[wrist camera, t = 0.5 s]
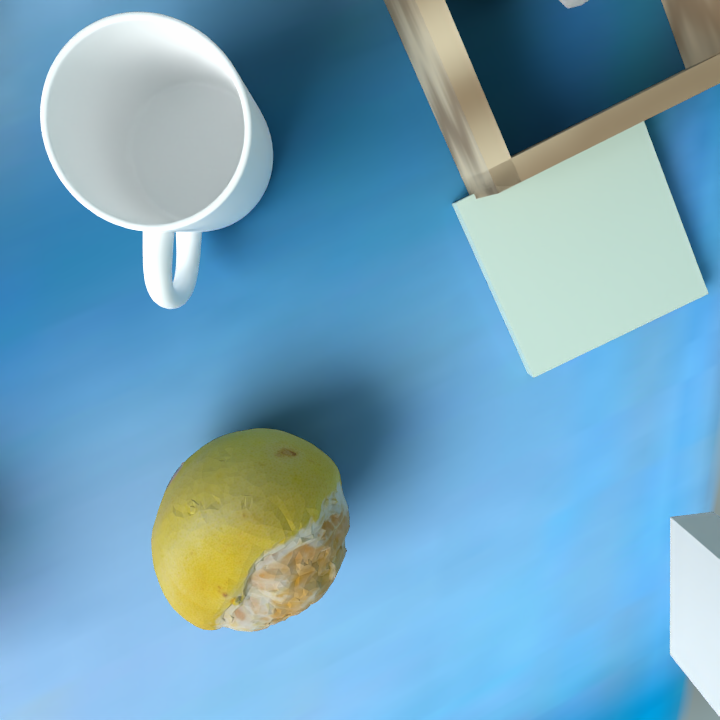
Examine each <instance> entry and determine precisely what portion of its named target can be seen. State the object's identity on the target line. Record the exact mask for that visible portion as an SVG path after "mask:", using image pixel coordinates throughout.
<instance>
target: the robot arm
mask: <svg viewBox="0 0 720 720" xmlns="http://www.w3.org/2000/svg"><path fill="white" fill-rule="evenodd" d="M670 655H671V656H672V657H673V659H674V660H675V661H676V662H677V664H678V665H679V666H680V667H681V669H682V670H683V671H684V673H685V674H686V675H687V676H688V678H689V679H690V680H691V681H692V683H693V684H694V685H695V686H696V688H697V689H698V690H699V691H700V693H701V694H702V695H703V696H704V698H705V699H706V700H707V702H708V703H709V704H710V705H711V707H712V708H713V709H714V710H715V711H716V713H717V714H718V715H719V717H720V517H719V516H718V515H717V514H715V513H714V512H708V513H700V514H691V515H683V516H675V517H670Z"/></svg>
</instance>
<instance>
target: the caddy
mask: <svg viewBox="0 0 720 720" xmlns="http://www.w3.org/2000/svg"><path fill="white" fill-rule="evenodd" d="M661 1H662V4H663V6H664V9H665V12H666V15H667V18H668V20H669V23H670V26H671V29H672V32H673V35H674V37H675V40H676V43H677V46H678V49H679V51H680V54H681V57H682V60H683V63H684V66H685V68H686V69H684V70H682V71H680V72H678V73H676V74H674V75H672V76H670V77H668V78H666V79H664V80H662V81H660V82H658V83H656V84H654V85H652V86H650V87H648V88H646V89H644V90H642V91H640V92H638V93H636V94H634V95H632V96H630V97H628V98H626V99H624V100H622V101H620V102H618V103H616V104H614V105H612V106H610V107H608V108H606V109H604V110H602V111H600V112H598V113H596V114H594V115H592V116H590V117H588V118H586V119H584V120H582V121H580V122H578V123H576V124H574V125H572V126H570V127H568V128H566V129H564V130H562V131H560V132H558V133H556V134H554V135H552V136H550V137H548V138H546V139H544V140H542V141H540V142H538V143H536V144H534V145H533V146H531V147H529V148H527V149H525V150H523V151H521V152H519V153H517V154H515V155H513V156H510V154H509V151H508V149H507V147H506V144H505V142H504V139H503V137H502V135H501V132H500V130H499V128H498V125H497V123H496V120H495V118H494V116H493V113H492V111H491V109H490V106H489V104H488V101H487V99H486V97H485V94H484V92H483V90H482V87H481V85H480V82H479V80H478V78H477V75H476V73H475V71H474V68H473V66H472V63H471V61H470V59H469V56H468V54H467V52H466V49H465V47H464V44H463V42H462V40H461V37H460V35H459V33H458V30H457V28H456V25H455V23H454V21H453V18H452V16H451V14H450V11H449V9H448V6H447V4H446V2H445V0H384V2H385V4H386V6H387V9H388V11H389V13H390V15H391V18H392V20H393V22H394V24H395V27H396V29H397V31H398V34H399V36H400V38H401V40H402V43H403V45H404V47H405V49H406V52H407V54H408V56H409V59H410V61H411V63H412V65H413V68H414V70H415V72H416V75H417V77H418V79H419V81H420V84H421V86H422V88H423V90H424V93H425V95H426V97H427V100H428V102H429V104H430V106H431V109H432V111H433V113H434V115H435V118H436V120H437V122H438V125H439V127H440V129H441V131H442V134H443V136H444V138H445V140H446V143H447V145H448V147H449V150H450V152H451V154H452V156H453V159H454V161H455V163H456V166H457V168H458V170H459V172H460V175H461V177H462V179H463V181H464V184H465V186H466V188H467V191H468V193H469V195H472V194H474V195H475V197H476V199H478V198H482V197H486V196H490V195H494V194H498V193H500V192H502V191H504V190H506V189H508V188H510V187H512V186H514V185H516V184H518V183H520V182H522V181H524V180H526V179H528V178H530V177H532V176H534V175H536V174H538V173H540V172H542V171H544V170H546V169H548V168H550V167H552V166H554V165H556V164H558V163H560V162H562V161H564V160H566V159H568V158H570V157H572V156H574V155H576V154H579V153H581V152H583V151H585V150H587V149H589V148H591V147H593V146H595V145H597V144H599V143H601V142H603V141H605V140H607V139H609V138H611V137H613V136H615V135H617V134H619V133H621V132H623V131H625V130H627V129H629V128H631V127H633V126H635V125H637V124H639V123H641V122H643V121H645V120H647V119H649V118H651V117H653V116H655V115H657V114H659V113H661V112H663V111H665V110H667V109H669V108H671V107H673V106H675V105H677V104H679V103H681V102H683V101H685V100H687V99H689V98H691V97H693V96H695V95H697V94H699V93H701V92H703V91H705V90H707V89H709V88H711V87H713V86H715V85H717V84H719V83H720V0H661Z"/></svg>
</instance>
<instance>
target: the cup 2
mask: <svg viewBox="0 0 720 720" xmlns="http://www.w3.org/2000/svg"><path fill="white" fill-rule="evenodd" d="M559 1H560V2H561V3H562V4H563V5H564V6H565V7H567V8H572V7H576V6H580V5H582V4H584V3H585V2H587V1H588V0H559Z"/></svg>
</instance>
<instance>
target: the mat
mask: <svg viewBox="0 0 720 720" xmlns="http://www.w3.org/2000/svg"><path fill="white" fill-rule="evenodd" d="M452 205H453V207H454V210H455V212H456V214H457V216H458V219H459V221H460V223H461V225H462V228H463V230H464V232H465V234H466V236H467V239H468V241H469V243H470V245H471V248H472V250H473V252H474V254H475V257H476V259H477V261H478V263H479V266H480V268H481V270H482V272H483V275H484V277H485V279H486V281H487V284H488V286H489V288H490V290H491V292H492V295H493V297H494V299H495V301H496V304H497V306H498V308H499V310H500V313H501V315H502V317H503V319H504V322H505V324H506V326H507V328H508V331H509V333H510V335H511V337H512V339H513V342H514V344H515V346H516V348H517V351H518V353H519V355H520V357H521V360H522V362H523V364H524V366H525V369H526V371H527V373H528V374H529V375H531V376H532V377H536V376H538V375H540V374H542V373H544V372H546V371H549V370H551V369H553V368H555V367H557V366H559V365H561V364H563V363H565V362H567V361H569V360H571V359H574V358H576V357H578V356H580V355H582V354H584V353H586V352H588V351H590V350H592V349H594V348H596V347H598V346H601V345H603V344H605V343H607V342H609V341H611V340H613V339H615V338H617V337H619V336H621V335H623V334H626V333H628V332H630V331H632V330H634V329H636V328H638V327H640V326H642V325H644V324H646V323H648V322H650V321H653V320H655V319H657V318H659V317H661V316H663V315H665V314H667V313H669V312H671V311H673V310H675V309H678V308H680V307H682V306H684V305H686V304H688V303H690V302H692V301H694V300H696V299H698V298H700V297H702V296H705V295H707V294H708V291H707V288H706V286H705V283H704V280H703V278H702V275H701V272H700V270H699V267H698V264H697V262H696V259H695V256H694V254H693V251H692V248H691V246H690V243H689V240H688V237H687V235H686V232H685V229H684V227H683V224H682V221H681V219H680V216H679V213H678V211H677V208H676V205H675V203H674V200H673V197H672V195H671V192H670V189H669V187H668V184H667V181H666V179H665V176H664V173H663V171H662V168H661V165H660V163H659V160H658V157H657V155H656V152H655V149H654V147H653V144H652V141H651V139H650V136H649V133H648V131H647V128H646V125H645V123H644V121H643V122H641V123H639V124H637V125H635V126H633V127H631V128H629V129H627V130H625V131H623V132H621V133H619V134H617V135H615V136H613V137H611V138H609V139H607V140H605V141H603V142H601V143H599V144H597V145H595V146H593V147H591V148H589V149H587V150H585V151H583V152H581V153H579V154H576V155H574V156H572V157H570V158H568V159H566V160H564V161H562V162H560V163H558V164H556V165H554V166H552V167H550V168H548V169H546V170H544V171H542V172H540V173H538V174H536V175H534V176H532V177H530V178H528V179H526V180H524V181H522V182H520V183H518V184H516V185H514V186H512V187H510V188H508V189H506V190H504V191H502V192H500V193H498V194H494V195H490V196H486V197H482V198H478V199H476V197H475V195H474V194H472V195H469V196H467V197H465V198H463V199H461V200H459V201H457V202H455V203H453V204H452Z"/></svg>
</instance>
